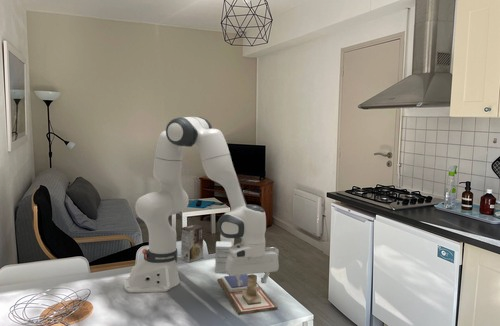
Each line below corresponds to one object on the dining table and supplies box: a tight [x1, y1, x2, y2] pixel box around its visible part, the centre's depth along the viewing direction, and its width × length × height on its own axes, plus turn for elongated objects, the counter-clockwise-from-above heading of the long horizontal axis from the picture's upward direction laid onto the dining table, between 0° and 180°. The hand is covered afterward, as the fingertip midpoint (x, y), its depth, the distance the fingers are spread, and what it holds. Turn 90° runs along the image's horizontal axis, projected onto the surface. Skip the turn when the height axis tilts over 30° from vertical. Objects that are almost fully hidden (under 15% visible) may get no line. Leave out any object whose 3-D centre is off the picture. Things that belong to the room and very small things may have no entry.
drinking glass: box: [219, 234, 235, 246], centre depth 188 cm, size 7×7×15 cm
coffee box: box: [180, 223, 204, 263], centre depth 188 cm, size 9×6×16 cm
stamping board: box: [216, 277, 279, 316], centre depth 152 cm, size 15×30×1 cm, turn 19°
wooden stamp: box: [242, 274, 261, 305], centre depth 145 cm, size 5×7×9 cm
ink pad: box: [220, 274, 260, 292], centre depth 159 cm, size 12×13×2 cm
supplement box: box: [214, 241, 232, 274], centre depth 175 cm, size 7×7×13 cm
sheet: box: [231, 290, 274, 311], centre depth 145 cm, size 13×14×1 cm
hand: (251, 284), depth 145 cm, fingers open, 8 cm apart
